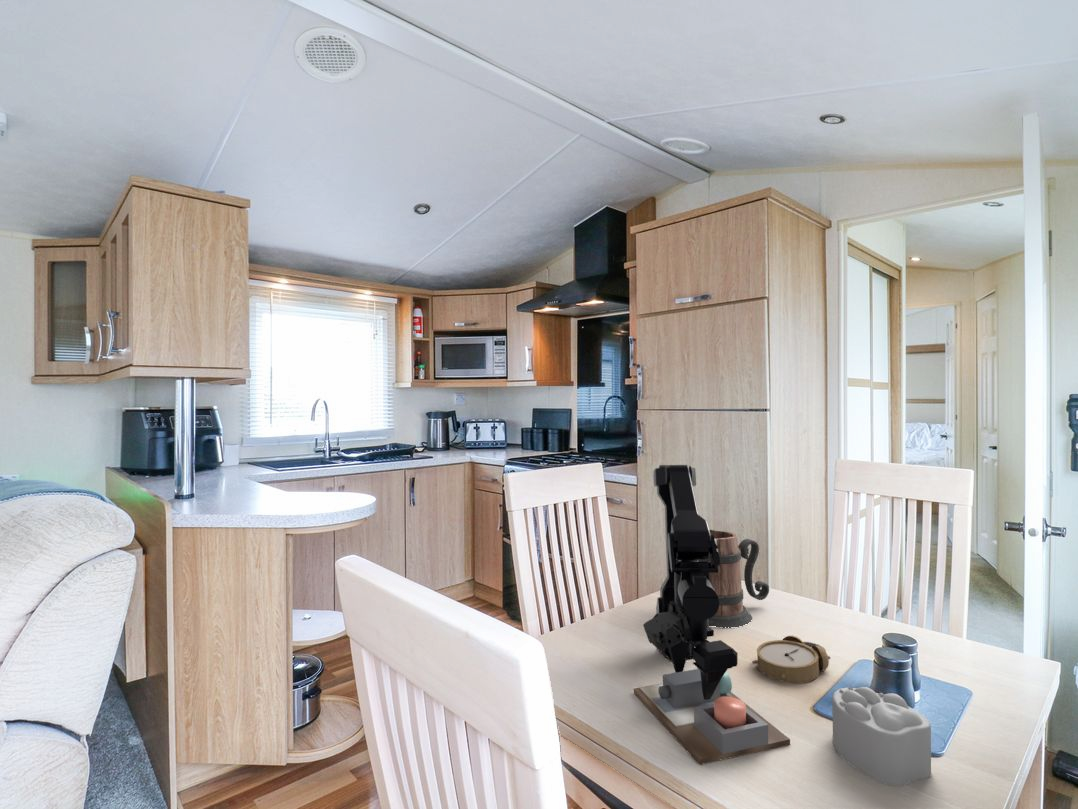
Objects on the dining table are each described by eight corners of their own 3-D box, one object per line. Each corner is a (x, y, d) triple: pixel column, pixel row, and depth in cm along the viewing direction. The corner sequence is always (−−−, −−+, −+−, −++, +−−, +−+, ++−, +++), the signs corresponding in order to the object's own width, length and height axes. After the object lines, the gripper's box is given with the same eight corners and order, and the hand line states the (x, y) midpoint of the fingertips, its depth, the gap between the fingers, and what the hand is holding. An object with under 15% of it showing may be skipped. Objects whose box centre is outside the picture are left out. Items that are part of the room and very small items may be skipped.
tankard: (706, 632, 134) (705, 545, 134) (667, 607, 150) (666, 529, 150) (790, 618, 142) (789, 536, 141) (745, 596, 158) (744, 521, 157)
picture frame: (710, 679, 113) (709, 673, 112) (790, 744, 91) (790, 737, 91) (633, 692, 108) (633, 687, 108) (699, 764, 87) (699, 757, 87)
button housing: (736, 716, 98) (736, 699, 98) (768, 744, 90) (768, 724, 90) (694, 725, 96) (693, 707, 96) (723, 754, 88) (722, 734, 88)
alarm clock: (743, 651, 118) (793, 623, 125) (746, 674, 119) (796, 645, 126) (790, 674, 108) (842, 642, 115) (794, 699, 109) (845, 666, 116)
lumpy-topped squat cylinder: (886, 790, 81) (886, 728, 81) (814, 738, 93) (814, 684, 93) (942, 774, 84) (941, 713, 84) (865, 725, 96) (865, 673, 96)
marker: (719, 687, 107) (718, 665, 107) (732, 697, 104) (732, 675, 103) (655, 698, 104) (655, 676, 104) (667, 710, 100) (666, 686, 100)
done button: (733, 712, 96) (733, 694, 96) (752, 728, 91) (752, 709, 91) (708, 717, 95) (707, 699, 94) (725, 734, 90) (725, 714, 90)
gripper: (626, 586, 110) (627, 669, 110) (677, 623, 92) (679, 722, 92) (679, 580, 113) (680, 661, 113) (739, 615, 95) (740, 710, 95)
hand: (692, 686), depth 103 cm, fingers open, 9 cm apart
